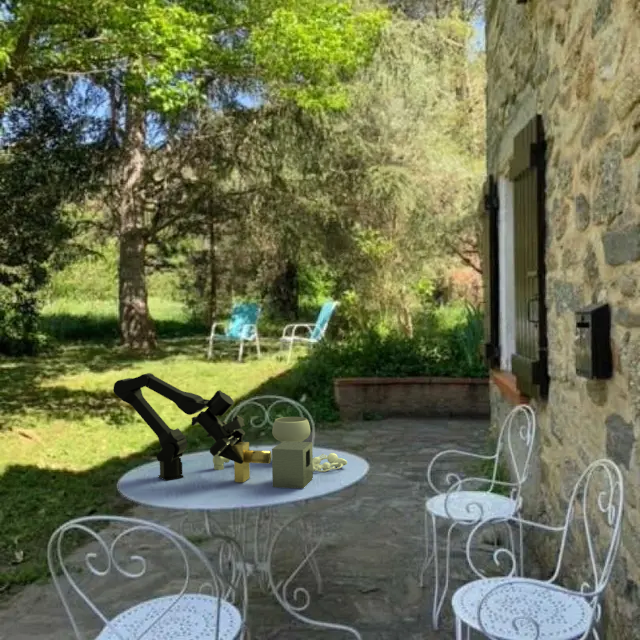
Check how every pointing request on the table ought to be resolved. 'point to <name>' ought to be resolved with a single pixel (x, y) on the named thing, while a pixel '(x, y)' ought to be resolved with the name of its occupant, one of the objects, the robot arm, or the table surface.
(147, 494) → the table surface
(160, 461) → the robot arm
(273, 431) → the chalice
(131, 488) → the table surface
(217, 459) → the valve
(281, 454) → the housing
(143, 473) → the table surface
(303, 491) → the table surface
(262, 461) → the end cover
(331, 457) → the tangled rod sculpture
